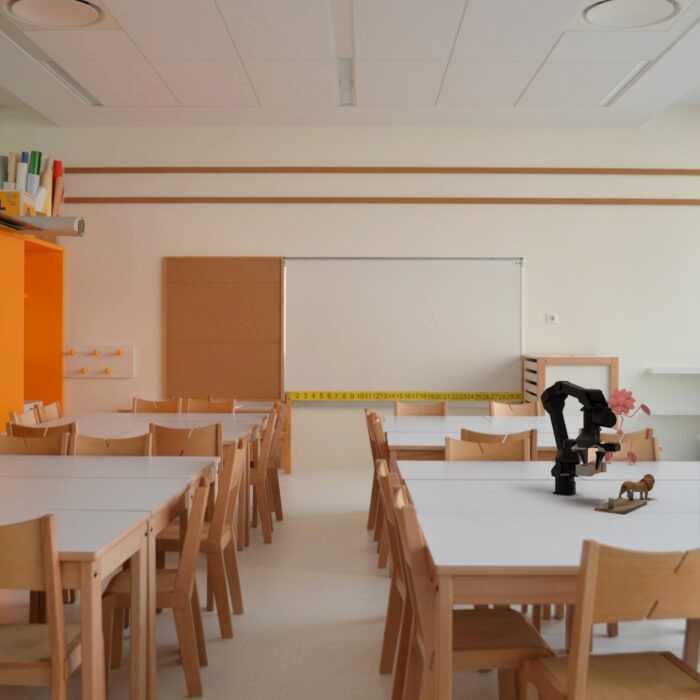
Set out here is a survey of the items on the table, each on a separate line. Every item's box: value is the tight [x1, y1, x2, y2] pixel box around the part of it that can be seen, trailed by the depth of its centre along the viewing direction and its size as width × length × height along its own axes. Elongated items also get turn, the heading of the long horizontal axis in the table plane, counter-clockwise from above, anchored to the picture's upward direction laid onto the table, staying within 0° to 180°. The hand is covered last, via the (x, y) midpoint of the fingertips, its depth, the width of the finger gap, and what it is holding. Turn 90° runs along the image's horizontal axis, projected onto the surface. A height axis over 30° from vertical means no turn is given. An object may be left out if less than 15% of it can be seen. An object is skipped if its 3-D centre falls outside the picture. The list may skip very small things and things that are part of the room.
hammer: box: [576, 459, 608, 478], centre depth 274 cm, size 5×15×4 cm, turn 141°
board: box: [593, 490, 648, 516], centre depth 265 cm, size 10×22×4 cm, turn 141°
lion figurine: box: [617, 473, 656, 501], centre depth 279 cm, size 15×5×9 cm, turn 106°
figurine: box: [604, 388, 651, 466], centre depth 368 cm, size 15×26×35 cm, turn 67°
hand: (591, 469), depth 274 cm, fingers closed on hammer, 3 cm apart
